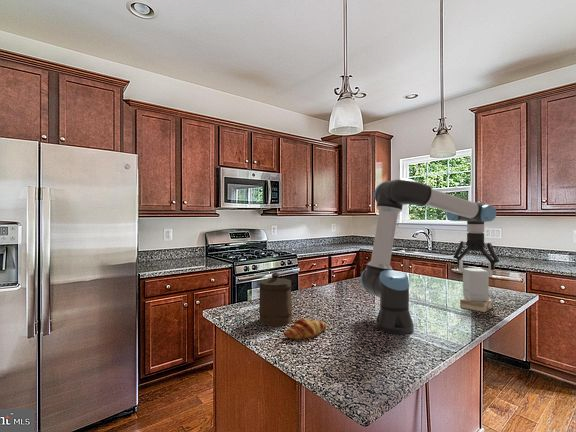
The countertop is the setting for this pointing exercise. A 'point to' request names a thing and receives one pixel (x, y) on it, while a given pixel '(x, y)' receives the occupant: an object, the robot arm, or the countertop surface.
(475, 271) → the supplement box
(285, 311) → the wooden container
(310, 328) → the croissant
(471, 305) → the tan picture frame
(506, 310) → the countertop surface
